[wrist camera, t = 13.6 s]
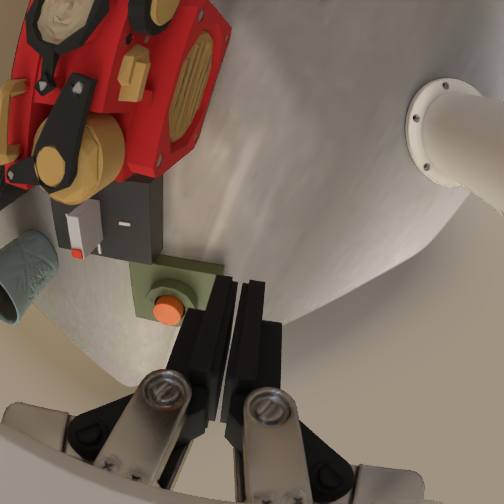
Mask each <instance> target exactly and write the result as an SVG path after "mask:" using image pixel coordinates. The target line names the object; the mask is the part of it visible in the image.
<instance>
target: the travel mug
mask: <svg viewBox="0 0 504 504" xmlns="http://www.w3.org/2000/svg"><path fill="white" fill-rule="evenodd" d="M28 190H29V189H28ZM28 190H25V189H23V188H20V187H17V186H14V185H11V184H9V183H6V182H5V171H4V165H0V211H1V210H2V209H3V208H5V207H6V206H7V205H9V204H10V203H12V202H13V201H14V200H16V199H17V198H19V197H20V196H21V195H23V194H24V193H26V192H27V191H28Z"/></svg>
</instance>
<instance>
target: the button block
mask: <svg viewBox="0 0 504 504" xmlns="http://www.w3.org/2000/svg"><path fill="white" fill-rule="evenodd" d="M129 268H130V276H131V285H132V292H133V299H134V306H135V313H136V317H140V318H144V319H148V320H153V321H157V322H160V321H159V320H157V319H156V317H155V316H154V313H153V309H154V306H155V304H156V302H157V300H158V298H159V297H161V296H163V295H171V296H174V297H176V298H177V299H179V300H180V301H181V302H182V304H183V306H184V312H183V314H182V317H181V319H180V321H179V323H177V324H175V325H171V326H176V327H178V326H181V325H182V322H183V320H184V317H185V314H186V312H187V309H188V308H193V309H199V310H204V311H205V310H206V306H207V303H208V300H209V297H210V294H211V290H212V287H213V284H214V281H215V278H216V275H217V274H218V275H224V265H217V264H211V263H205V262H199V261H193V260H187V259H181V258H176V257H170V256H164V255H158V257H157V258H156V260H155V261H154V263H153V264H152V265H146V264H141V263H136V262H130V261H129Z"/></svg>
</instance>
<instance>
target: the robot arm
mask: <svg viewBox="0 0 504 504" xmlns="http://www.w3.org/2000/svg"><path fill="white" fill-rule="evenodd" d="M442 84H443V85H442ZM413 116H415V119H413ZM405 133H406V141H407V146H408V150H409V152H410V155H411V157H412V159H413V161H414V163H415V164H416V166H417V167H418V169H419V170H420V171H421V172H422V173H423V174H424V175H425V176H427V177H428V178H429V179H430V180H432V181H434V182H435V183H437V184H439V185H442V186H445V187H461V186H464V187H465V188H467V189H468V190H469V191H471V192H472V193H473V194H475V195H476V196H478V197H479V198H480V199H482V200H483V201H484V202H485V203H487V204H488V205H489V206H491V207H492V208H493V209H494V210H496V211H497V212H498V213H499V214H501V215H502V216H503V217H504V101H502V100H497V99H492V98H487V97H483V96H482V95H481V94H480V93H479V92H478V91H477V90H476V89H475V88H474V87H472V86H471V85H469V84H468V83H466V82H464V81H461V80H458V79H451V78H441V79H437V80H433V81H431V82H429V83H427V84H426V85H424V86H423V87H422V88H421V89H420V90H419V91H418V92H417V94H416V95H415V96H414V98H413V99H412V102H411V104H410V106H409V108H408V112H407V116H406V125H405ZM424 165H425V166H424ZM237 286H238V282H234V281H232V277H230V276H224V275H218V274H217V275H216V278H215V281H214V284H213V287H212V290H211V294H210V297H209V300H208V303H207V306H206V310H205V311H204V310H199V309H193V308H188V309H187V312H186V314H185V317H184V320H183V322H182V325H181V328H180V330H179V333H178V336H177V339H176V341H175V344H174V347H173V350H172V353H171V355H170V358H169V361H168V364H167V367H166V369H160V370H156V371H153V372H151V373H150V374H148V375H146V377H145V378H144V379H143V380H142V381H141V383H140V385H139V386H138V388H137V390H136V391H135V393H133V394H131V395H128V396H126V397H123V398H121V399H118V400H116V401H113V402H111V403H108V404H106V405H103V406H101V407H99V408H96V409H93V410H91V411H88V412H85V413H83V414H80V415H78V416H72V415H69V413H68V412H62V411H57V410H52V409H47V408H43V407H38V406H34V405H29V404H25V403H22V402H15V403H13V404H11V405H9V406H8V407H7V408H6V410H5V412H4V414H3V418H2V422H1V423H0V504H445V503H442V502H438V501H434V500H424V489H425V487H424V481H423V479H422V477H421V475H419V474H418V473H417V472H414V471H411V470H401V469H392V468H384V467H376V466H370V465H363V464H360V465H358V466H356V465H350V464H349V463H348V462H347V461H346V460H344V459H343V458H342V457H341V456H340V455H338V454H337V453H336V452H335V451H334V450H333V449H331V448H330V447H329V446H328V445H327V444H326V443H324V442H323V441H322V440H321V439H320V438H319V437H318V436H316V435H315V434H314V433H313V432H312V431H311V430H310V429H309V428H308V427H306V426H305V425H304V424H303V423H302V422H301V421H300V420H299V417H298V411H297V406H296V404H295V401H294V400H293V398H292V397H291V396H290V395H289V394H287V393H286V392H285V391H283V390H281V389H280V381H281V348H282V347H281V346H282V323H279V322H272V321H265V320H262V315H263V304H264V292H265V282H261V281H255V280H250V281H249V284H247V283H243V285H242V290H241V295H240V301H239V306H238V311H237V317H236V322H235V328H234V333H233V338H232V344H231V349H230V355H229V360H228V366H227V371H226V378H225V386H224V394H223V402H222V411H221V419H220V422H222V423H227V425H226V430H225V438H226V439H227V440H228V441H229V442H230V444H231V445H232V446H233V447H234V448H233V452H234V453H233V454H234V477H235V498H236V502H227V501H221V500H214V499H208V498H202V497H197V496H192V495H187V494H183V493H178V492H174V491H173V488H174V486H175V484H176V481H177V479H178V476H179V474H180V472H181V470H182V467H183V465H184V462H185V460H186V458H187V455H188V453H189V451H190V448H191V446H192V443H193V440H194V439H195V438H197V437H198V436H200V435H202V434H204V433H205V428H207V426H208V421H209V420H211V421H215V418H216V413H217V407H218V402H219V397H220V392H221V387H222V381H223V376H224V371H225V365H226V360H227V355H228V350H229V344H230V339H231V331H232V324H233V316H234V308H235V301H236V293H237Z"/></svg>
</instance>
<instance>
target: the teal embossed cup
mask: <svg viewBox="0 0 504 504" xmlns="http://www.w3.org/2000/svg"><path fill="white" fill-rule="evenodd" d="M57 266H58V260H57V255H56V252H55V250H54V248H53V246H52V245H51V243H50V242H49V241H48V239H47V238H46V237H45V236H44V235H42V234H41V233H39V232H37V231H34V230H29V231H26V232H24V233H23V234H21V235H20V236H19V237H18V238H17V239H14V240H13V241H11V242H10V243H9V244H8V245H5V247H3V248H1V249H0V319H1V320H2V321H4V322H5V323H8V324H10V325H16V324H17V323H18V322H19V321H20V319H21V318H22V316H23V315H24V313H25V311H26V309H28V307H29V306H30V305H31V303H32V301H33V299H34V298H35V296H36V295H38V294H39V292H40V291H41V290H42V288H43V286H45V284H46V283H47V282H48V280H49V279H50V278H51V277H52V276H53V274H54V273H55V272H56V270H57Z"/></svg>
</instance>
